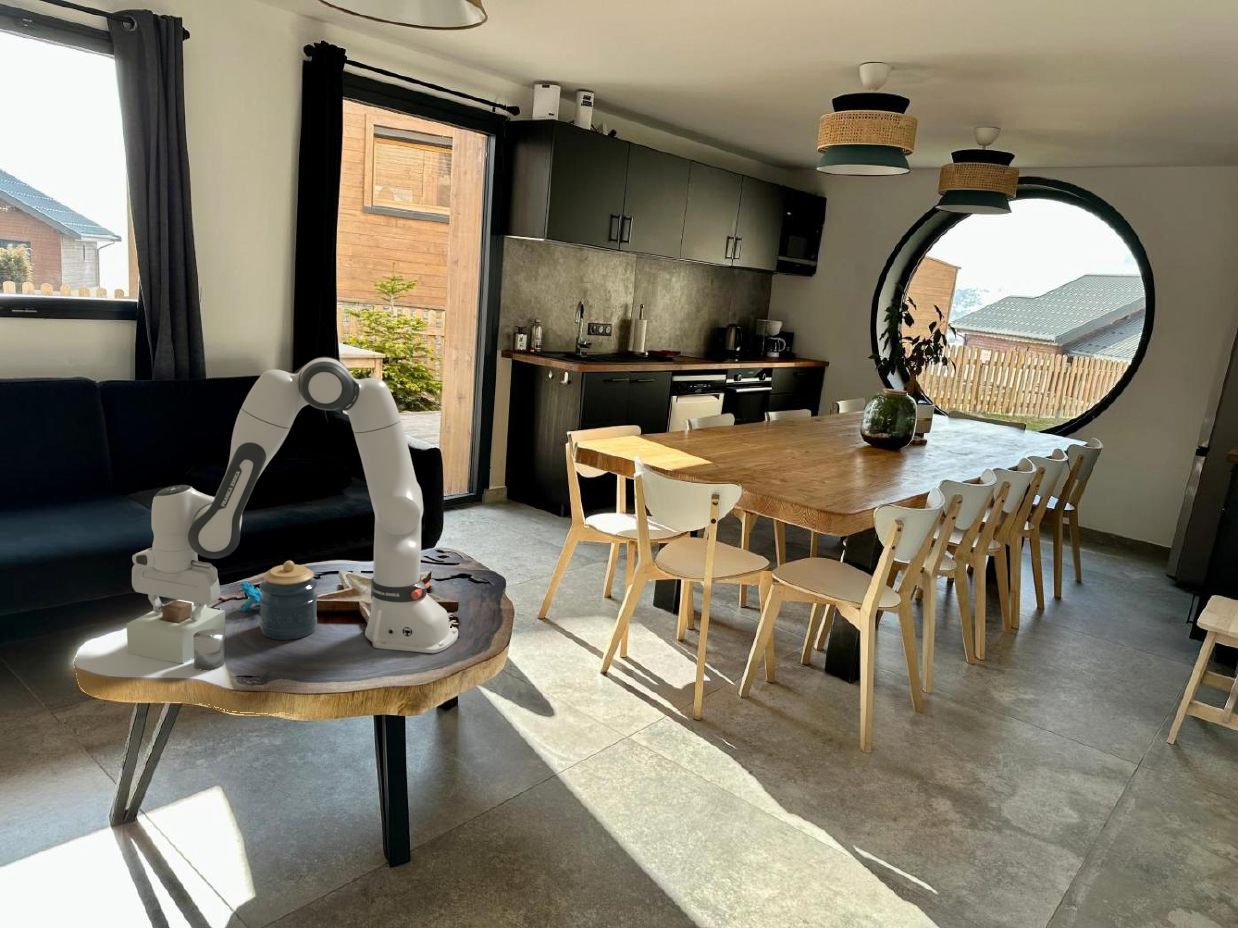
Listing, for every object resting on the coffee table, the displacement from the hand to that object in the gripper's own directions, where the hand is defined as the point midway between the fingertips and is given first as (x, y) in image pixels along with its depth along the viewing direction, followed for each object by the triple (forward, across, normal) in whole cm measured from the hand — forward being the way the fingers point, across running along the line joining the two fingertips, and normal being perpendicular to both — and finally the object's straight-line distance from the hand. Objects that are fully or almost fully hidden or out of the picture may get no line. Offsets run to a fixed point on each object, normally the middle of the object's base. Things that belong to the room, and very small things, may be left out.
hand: (177, 615), depth 190 cm
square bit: (+7, 0, 0) cm, 7 cm away
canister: (+8, -17, -17) cm, 25 cm away
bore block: (+7, 0, 0) cm, 7 cm away
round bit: (+7, -12, +5) cm, 15 cm away
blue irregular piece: (+8, -3, -24) cm, 26 cm away
